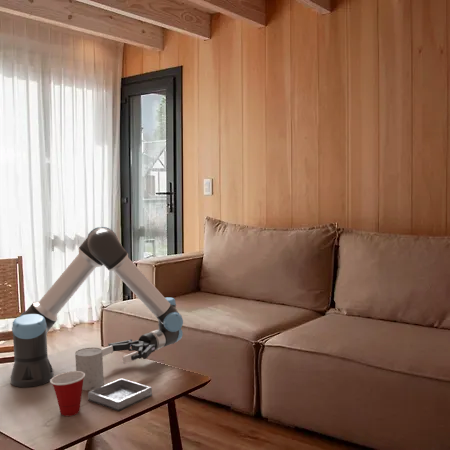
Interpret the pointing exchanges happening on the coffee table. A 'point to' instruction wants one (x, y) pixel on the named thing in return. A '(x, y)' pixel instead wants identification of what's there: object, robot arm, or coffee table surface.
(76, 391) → the plastic cup
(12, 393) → the coffee table surface
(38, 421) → the coffee table surface
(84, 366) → the speckled white cylinder
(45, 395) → the coffee table surface
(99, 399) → the grey square tray
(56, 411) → the coffee table surface
